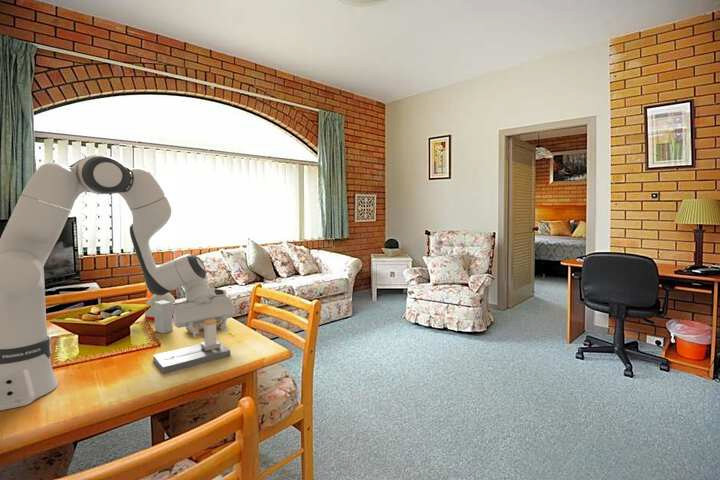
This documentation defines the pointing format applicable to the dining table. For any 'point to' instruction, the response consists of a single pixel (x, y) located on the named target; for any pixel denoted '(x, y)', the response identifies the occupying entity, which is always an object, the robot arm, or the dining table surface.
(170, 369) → the fader console
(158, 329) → the skincare box
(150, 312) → the kitchen timer
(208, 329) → the fader knob
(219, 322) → the trinket box
